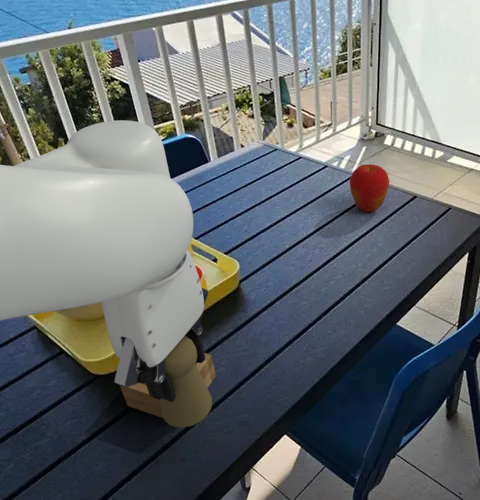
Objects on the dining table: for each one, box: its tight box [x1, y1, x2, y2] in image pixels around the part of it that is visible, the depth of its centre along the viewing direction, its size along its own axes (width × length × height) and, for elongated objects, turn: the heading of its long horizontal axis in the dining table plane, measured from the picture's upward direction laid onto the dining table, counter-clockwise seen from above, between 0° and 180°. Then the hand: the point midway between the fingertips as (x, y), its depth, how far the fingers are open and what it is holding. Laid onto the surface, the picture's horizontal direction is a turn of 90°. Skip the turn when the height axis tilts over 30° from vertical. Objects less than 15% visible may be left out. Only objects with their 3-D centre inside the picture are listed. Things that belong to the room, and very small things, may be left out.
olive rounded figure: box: [161, 336, 213, 428], centre depth 59 cm, size 6×6×11 cm
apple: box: [349, 164, 391, 213], centre depth 118 cm, size 9×9×12 cm
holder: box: [119, 352, 217, 419], centre depth 75 cm, size 9×9×5 cm
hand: (178, 375), depth 58 cm, fingers closed on olive rounded figure, 5 cm apart
